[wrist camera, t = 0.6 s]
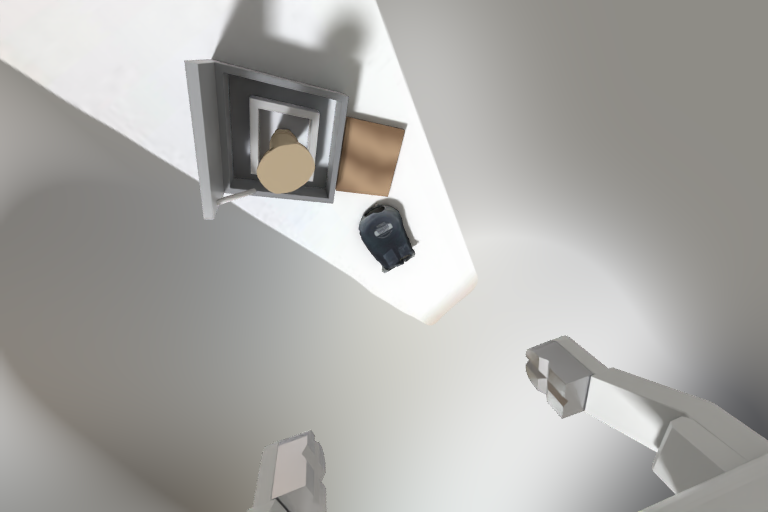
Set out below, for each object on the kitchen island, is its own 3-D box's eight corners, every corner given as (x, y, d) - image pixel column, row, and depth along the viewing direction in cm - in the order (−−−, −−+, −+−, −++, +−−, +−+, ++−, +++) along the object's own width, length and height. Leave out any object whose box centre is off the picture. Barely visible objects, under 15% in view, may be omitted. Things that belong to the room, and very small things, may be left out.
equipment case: (211, 59, 34) (184, 60, 24) (342, 93, 41) (364, 105, 31) (221, 181, 43) (204, 219, 33) (329, 193, 49) (342, 228, 39)
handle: (310, 141, 43) (322, 172, 32) (277, 163, 44) (277, 201, 32) (291, 111, 40) (296, 134, 29) (255, 135, 40) (246, 167, 29)
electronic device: (412, 241, 64) (391, 195, 53) (420, 258, 60) (399, 212, 49) (377, 257, 65) (349, 215, 54) (382, 275, 62) (353, 234, 50)
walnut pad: (346, 116, 43) (347, 117, 42) (402, 129, 47) (404, 130, 46) (335, 188, 49) (336, 190, 48) (386, 194, 53) (387, 196, 52)
